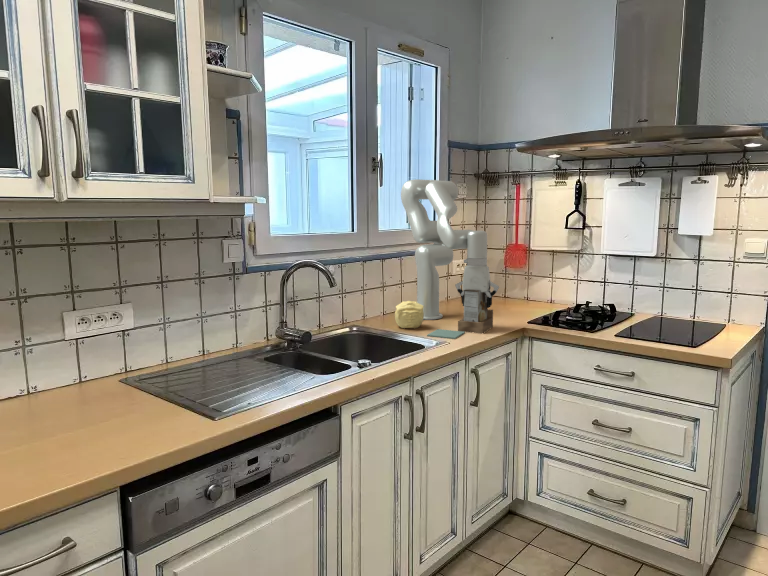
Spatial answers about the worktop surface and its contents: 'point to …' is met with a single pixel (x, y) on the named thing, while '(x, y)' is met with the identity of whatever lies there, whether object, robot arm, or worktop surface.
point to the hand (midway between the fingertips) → (476, 306)
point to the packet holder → (477, 324)
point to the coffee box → (475, 306)
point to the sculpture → (409, 314)
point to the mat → (446, 334)
